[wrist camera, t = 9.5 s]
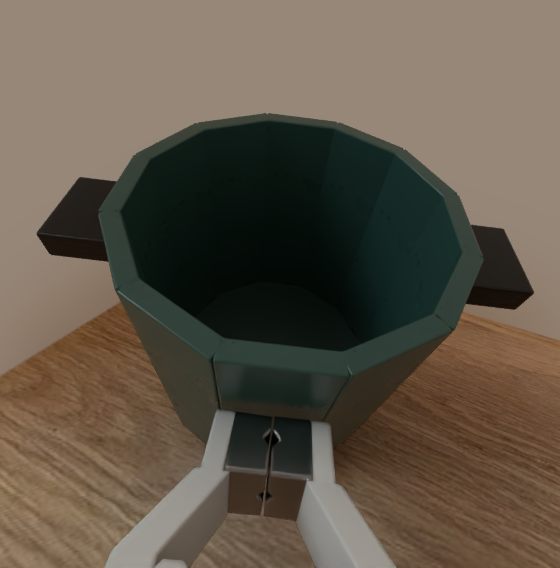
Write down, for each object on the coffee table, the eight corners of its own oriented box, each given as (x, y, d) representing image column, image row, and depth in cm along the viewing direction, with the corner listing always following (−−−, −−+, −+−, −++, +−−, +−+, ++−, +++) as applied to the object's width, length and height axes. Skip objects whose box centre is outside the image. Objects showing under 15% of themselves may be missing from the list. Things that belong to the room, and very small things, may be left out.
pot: (92, 448, 16) (-100, 325, 7) (163, 268, 22) (112, 92, 14) (425, 485, 16) (648, 411, 7) (395, 295, 23) (490, 140, 14)
